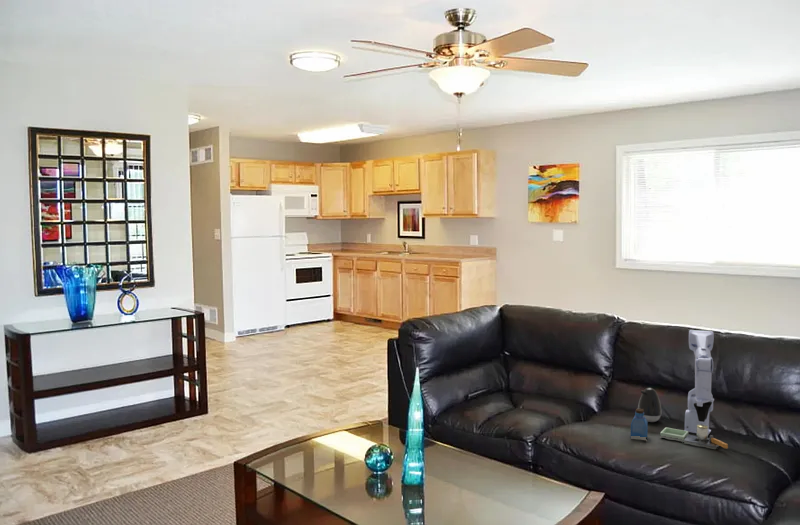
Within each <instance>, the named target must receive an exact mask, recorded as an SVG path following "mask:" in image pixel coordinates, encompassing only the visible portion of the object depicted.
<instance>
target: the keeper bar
mask: <svg viewBox="0 0 800 525" xmlns="http://www.w3.org/2000/svg"><path fill="white" fill-rule="evenodd" d="M709 438H710V442H713V443H715V444H717V445H719V446H718V447H722V448H723V449H729V445H728V443H726V442H724V441H722V440H720V439H717V438H714V435H713V434H712V435H711V434H710V435H709ZM719 440H720V441H719Z"/></svg>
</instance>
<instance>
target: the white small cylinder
mask: <svg viewBox="0 0 800 525" xmlns="http://www.w3.org/2000/svg"><path fill="white" fill-rule="evenodd" d="M696 436H697V441H699V442H704V443H707V438H709V437H708V436H709V434H708V426H706V425H697V433H696Z"/></svg>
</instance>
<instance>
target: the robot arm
mask: <svg viewBox="0 0 800 525" xmlns="http://www.w3.org/2000/svg"><path fill="white" fill-rule="evenodd" d="M714 338H715V335H714V331H713V330H698V329H696V330H694V329H689V330H688V347H689V350H691V351H693V354H694V357H695V358H694V373H695V374H694V388H692V389H691V390H689V391H688V394H687V409H685V413H684V431H689V433H692V434H697V425H706V426H708V435H709V434H710V433H711V432H712V429H710V414H711V412H713V411H714V401H715V398H714V397H713V394H712V378H713V376H712V375H713V374H712V373H714V372H713V370H714V361H713V360H714V359H713V357H712V355H711V351H712V350H713V347H714V340H715V339H714Z"/></svg>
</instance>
